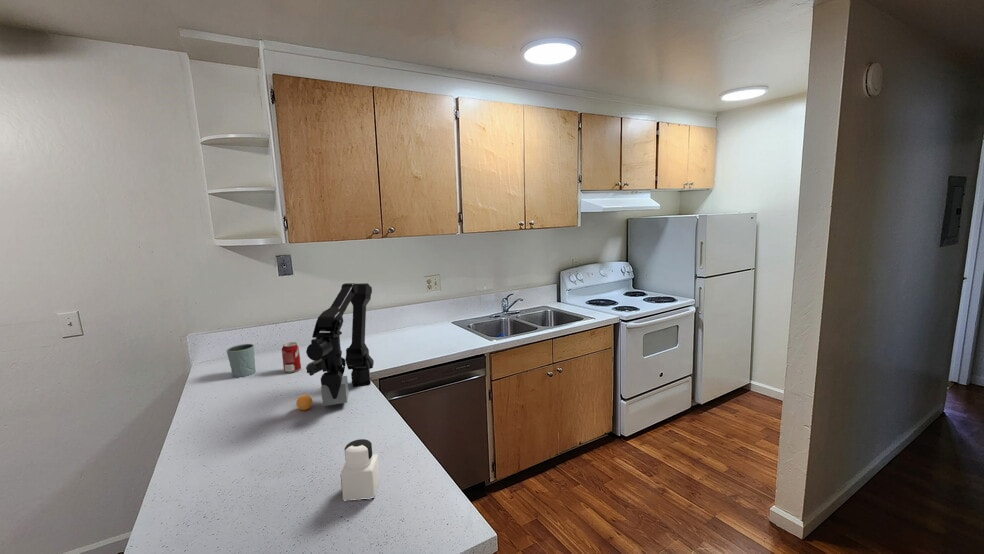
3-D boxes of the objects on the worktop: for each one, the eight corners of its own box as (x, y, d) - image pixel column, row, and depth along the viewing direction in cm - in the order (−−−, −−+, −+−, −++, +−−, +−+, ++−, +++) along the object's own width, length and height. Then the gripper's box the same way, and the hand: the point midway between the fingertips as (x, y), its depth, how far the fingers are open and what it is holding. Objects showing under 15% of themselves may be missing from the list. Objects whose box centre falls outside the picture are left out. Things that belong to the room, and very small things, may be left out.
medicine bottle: (350, 483, 102) (346, 436, 101) (380, 480, 103) (376, 434, 101) (342, 502, 95) (337, 453, 94) (374, 499, 96) (370, 450, 94)
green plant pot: (262, 371, 183) (259, 345, 181) (240, 380, 173) (236, 352, 172) (247, 368, 187) (243, 342, 185) (224, 377, 178) (220, 349, 176)
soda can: (294, 373, 178) (291, 346, 176) (280, 373, 180) (277, 346, 178) (304, 368, 185) (301, 341, 183) (291, 367, 186) (288, 341, 184)
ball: (314, 405, 147) (312, 391, 146) (311, 411, 142) (310, 397, 141) (298, 407, 146) (297, 393, 145) (295, 413, 141) (294, 399, 140)
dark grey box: (348, 393, 151) (347, 375, 150) (347, 402, 143) (345, 383, 142) (325, 396, 149) (324, 378, 148) (323, 405, 141) (321, 386, 141)
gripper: (311, 345, 151) (315, 386, 153) (301, 362, 133) (306, 409, 135) (343, 342, 153) (347, 382, 156) (338, 358, 135) (343, 404, 138)
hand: (336, 393), depth 146 cm, fingers closed on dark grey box, 8 cm apart
